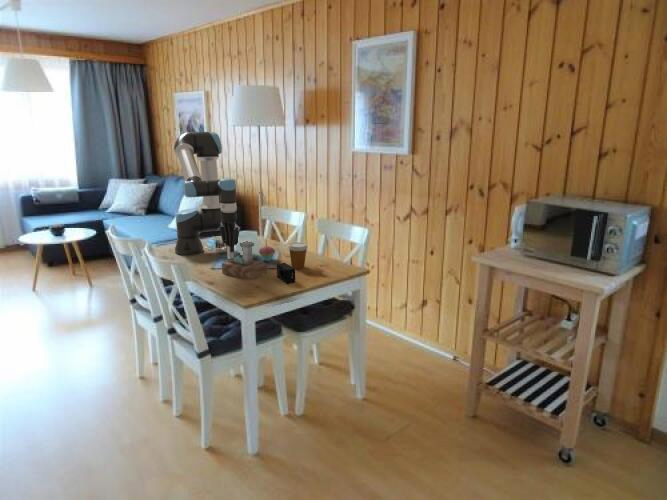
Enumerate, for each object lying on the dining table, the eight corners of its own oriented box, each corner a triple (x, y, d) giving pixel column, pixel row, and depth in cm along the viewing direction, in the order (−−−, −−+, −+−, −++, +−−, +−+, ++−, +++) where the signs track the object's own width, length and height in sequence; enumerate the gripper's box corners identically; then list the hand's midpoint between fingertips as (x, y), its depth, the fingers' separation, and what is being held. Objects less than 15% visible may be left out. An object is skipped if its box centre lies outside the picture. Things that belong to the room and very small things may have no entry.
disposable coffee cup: (304, 271, 227) (304, 247, 224) (286, 269, 229) (285, 246, 226) (309, 265, 236) (309, 242, 233) (291, 263, 238) (291, 241, 235)
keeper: (234, 262, 222) (234, 255, 221) (240, 260, 225) (239, 253, 224) (242, 263, 219) (241, 257, 218) (247, 261, 222) (247, 255, 222)
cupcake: (273, 262, 240) (273, 240, 236) (257, 262, 240) (257, 239, 237) (276, 257, 248) (275, 236, 245) (260, 257, 248) (259, 235, 245)
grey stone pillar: (240, 274, 221) (240, 243, 216) (247, 271, 225) (246, 241, 220) (248, 276, 219) (247, 244, 214) (254, 273, 222) (254, 242, 218)
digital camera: (274, 278, 217) (274, 264, 215) (284, 276, 220) (284, 262, 218) (284, 284, 209) (284, 270, 207) (295, 282, 212) (295, 268, 210)
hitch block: (222, 272, 222) (221, 261, 221) (239, 266, 232) (238, 255, 230) (250, 280, 213) (250, 268, 212) (266, 273, 223) (266, 262, 221)
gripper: (213, 210, 219) (215, 257, 226) (233, 214, 213) (235, 262, 219) (224, 208, 225) (226, 253, 232) (244, 211, 219) (245, 258, 226)
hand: (230, 258), depth 226 cm, fingers closed
